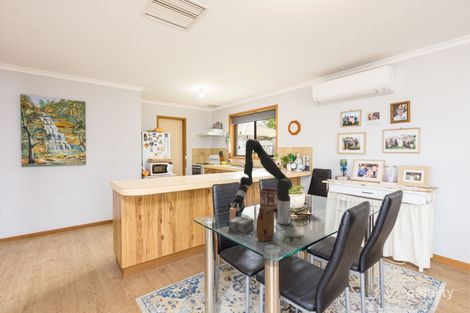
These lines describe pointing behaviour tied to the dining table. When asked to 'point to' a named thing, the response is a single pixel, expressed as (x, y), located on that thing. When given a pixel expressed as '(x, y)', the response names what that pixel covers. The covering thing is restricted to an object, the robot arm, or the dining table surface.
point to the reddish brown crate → (269, 198)
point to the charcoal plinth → (241, 224)
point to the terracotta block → (233, 213)
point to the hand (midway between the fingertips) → (232, 215)
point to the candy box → (308, 202)
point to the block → (265, 223)
